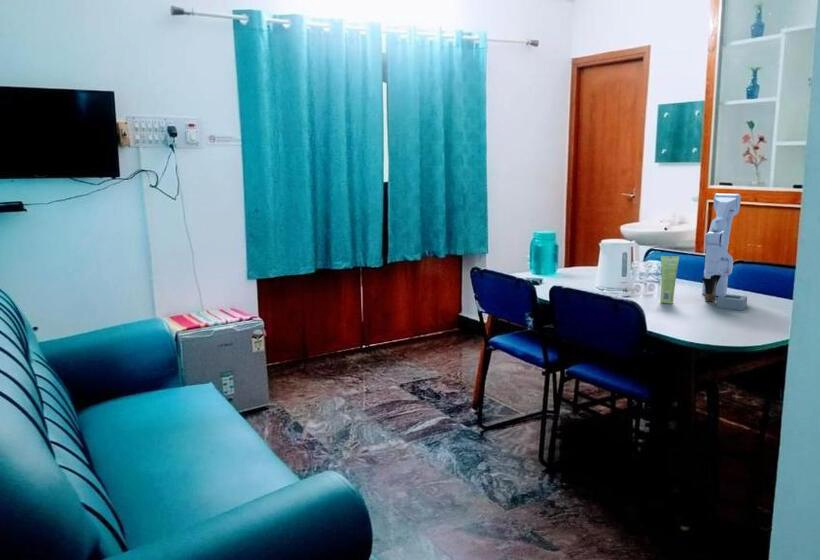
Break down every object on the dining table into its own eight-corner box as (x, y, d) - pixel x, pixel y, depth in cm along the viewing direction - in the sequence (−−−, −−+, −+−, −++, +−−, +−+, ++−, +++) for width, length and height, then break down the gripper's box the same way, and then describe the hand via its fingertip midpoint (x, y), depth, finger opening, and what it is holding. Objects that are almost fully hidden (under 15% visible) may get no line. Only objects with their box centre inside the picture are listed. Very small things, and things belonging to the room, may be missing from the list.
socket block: (716, 307, 253) (717, 297, 253) (722, 303, 260) (722, 293, 260) (741, 310, 248) (742, 300, 247) (746, 306, 255) (747, 296, 254)
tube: (664, 300, 266) (667, 254, 263) (676, 302, 263) (679, 256, 259) (657, 302, 263) (660, 256, 259) (669, 304, 259) (672, 257, 255)
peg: (703, 300, 264) (704, 281, 262) (705, 298, 267) (707, 279, 265) (713, 301, 261) (715, 282, 260) (716, 299, 264) (717, 280, 263)
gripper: (719, 264, 253) (716, 297, 255) (727, 259, 264) (724, 291, 267) (700, 262, 257) (698, 295, 260) (709, 257, 268) (706, 289, 271)
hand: (710, 293), depth 264 cm, fingers closed on peg, 4 cm apart
